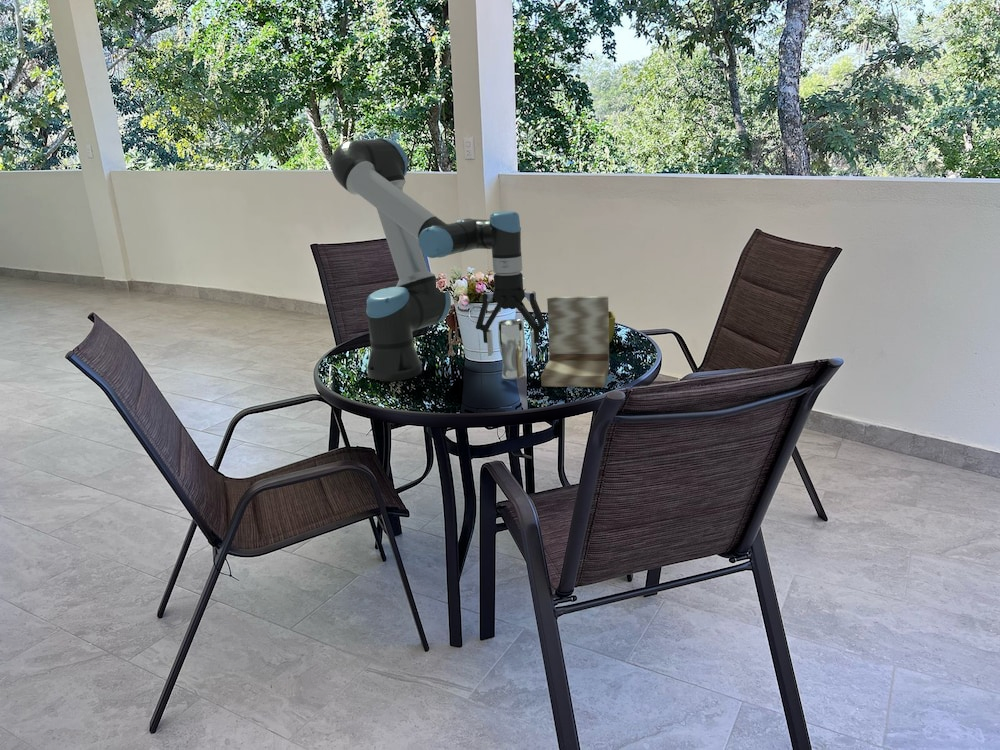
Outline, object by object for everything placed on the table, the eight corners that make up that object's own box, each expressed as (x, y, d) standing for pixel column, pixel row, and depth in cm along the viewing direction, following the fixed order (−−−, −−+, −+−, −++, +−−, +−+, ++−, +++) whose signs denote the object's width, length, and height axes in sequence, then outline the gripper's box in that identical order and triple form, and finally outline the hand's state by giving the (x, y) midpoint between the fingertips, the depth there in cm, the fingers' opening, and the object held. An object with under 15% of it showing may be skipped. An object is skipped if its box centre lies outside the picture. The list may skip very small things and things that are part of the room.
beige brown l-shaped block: (541, 386, 195) (538, 310, 189) (550, 368, 210) (548, 296, 204) (604, 387, 192) (603, 309, 186) (609, 368, 206) (608, 296, 200)
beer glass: (508, 371, 209) (505, 318, 205) (530, 374, 206) (528, 319, 201) (495, 378, 204) (492, 324, 199) (518, 381, 200) (515, 326, 196)
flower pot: (615, 347, 227) (615, 317, 224) (586, 348, 227) (585, 319, 224) (612, 339, 235) (611, 310, 232) (583, 340, 235) (583, 312, 233)
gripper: (460, 276, 196) (466, 358, 202) (550, 274, 190) (553, 358, 197) (467, 271, 203) (473, 350, 209) (555, 269, 197) (558, 350, 204)
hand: (512, 354), depth 203 cm, fingers open, 11 cm apart
